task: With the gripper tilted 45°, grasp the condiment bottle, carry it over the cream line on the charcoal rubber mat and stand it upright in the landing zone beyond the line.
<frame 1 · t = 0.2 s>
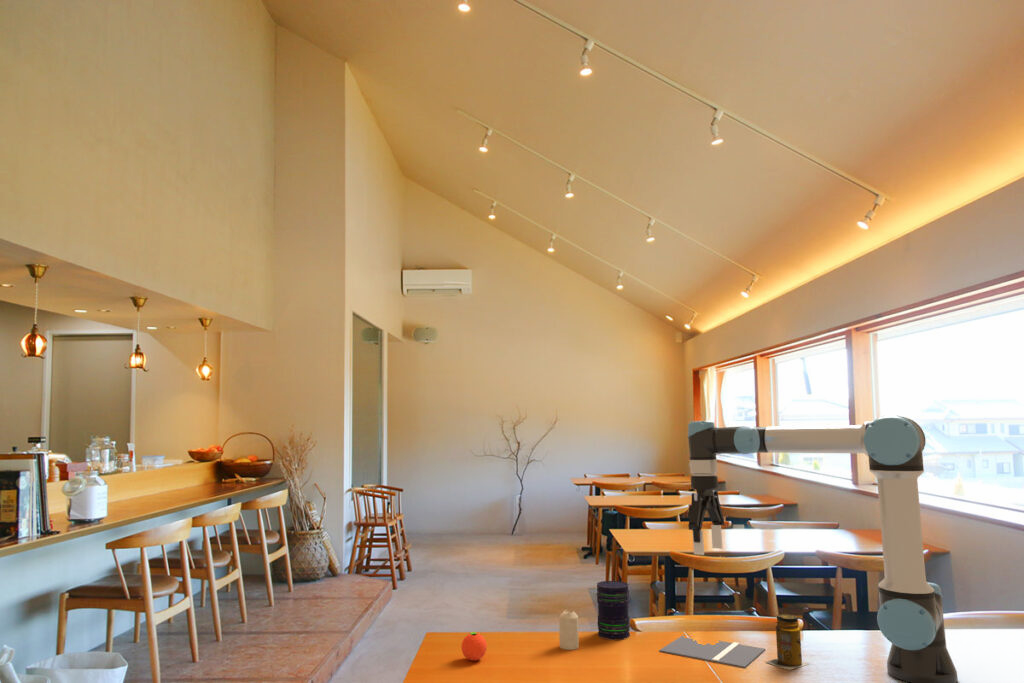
hand: (708, 551, 191), 28 cm above the table, tool pointing down, fingers open, 13 cm apart
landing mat: (712, 650, 190), on the table
condiment: (787, 664, 179), on the table
storage jar: (613, 635, 206), on the table
clementine: (473, 660, 184), on the table
candle: (569, 647, 194), on the table
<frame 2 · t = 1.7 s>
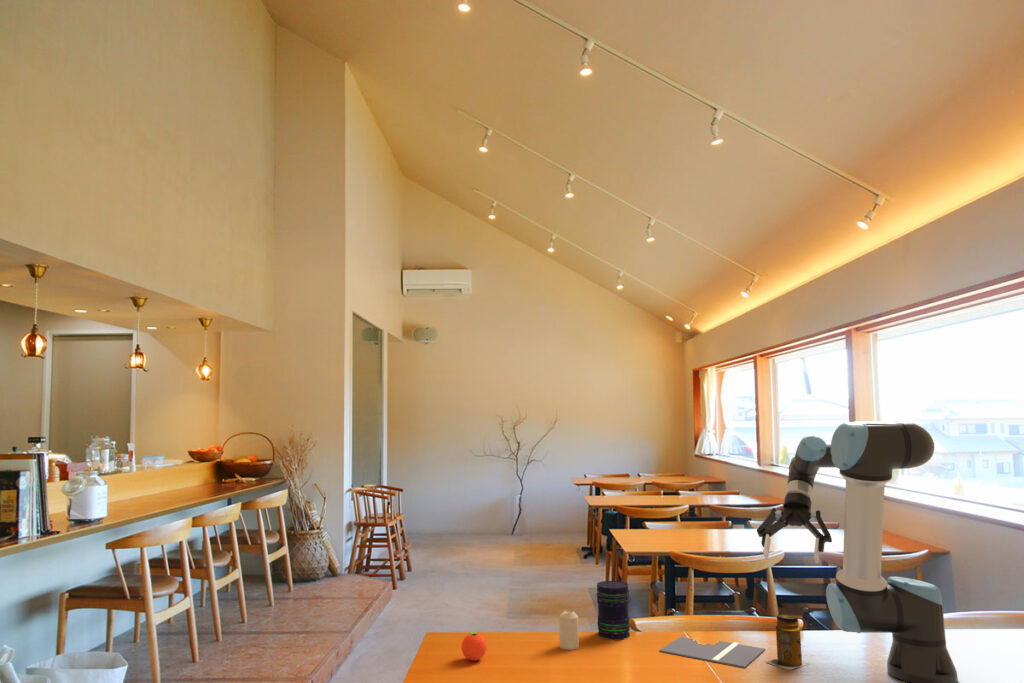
hand: (790, 558, 191), 26 cm above the table, tool tilted 45°, fingers open, 13 cm apart
nothing on the table moved.
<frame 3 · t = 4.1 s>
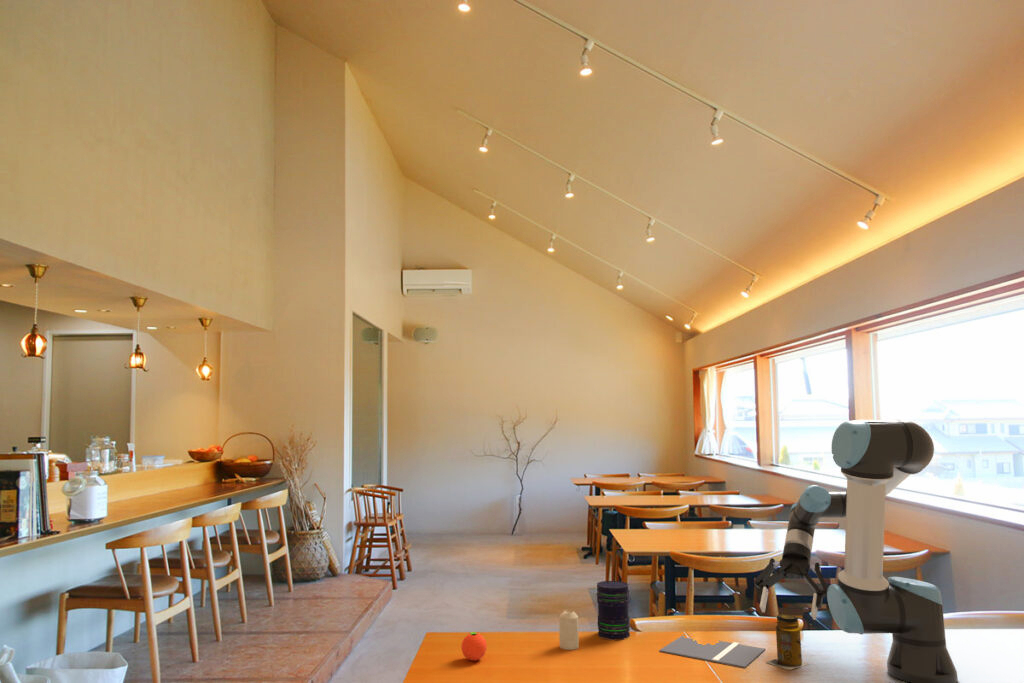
hand: (787, 613, 186), 11 cm above the table, tool tilted 45°, fingers open, 13 cm apart
nothing on the table moved.
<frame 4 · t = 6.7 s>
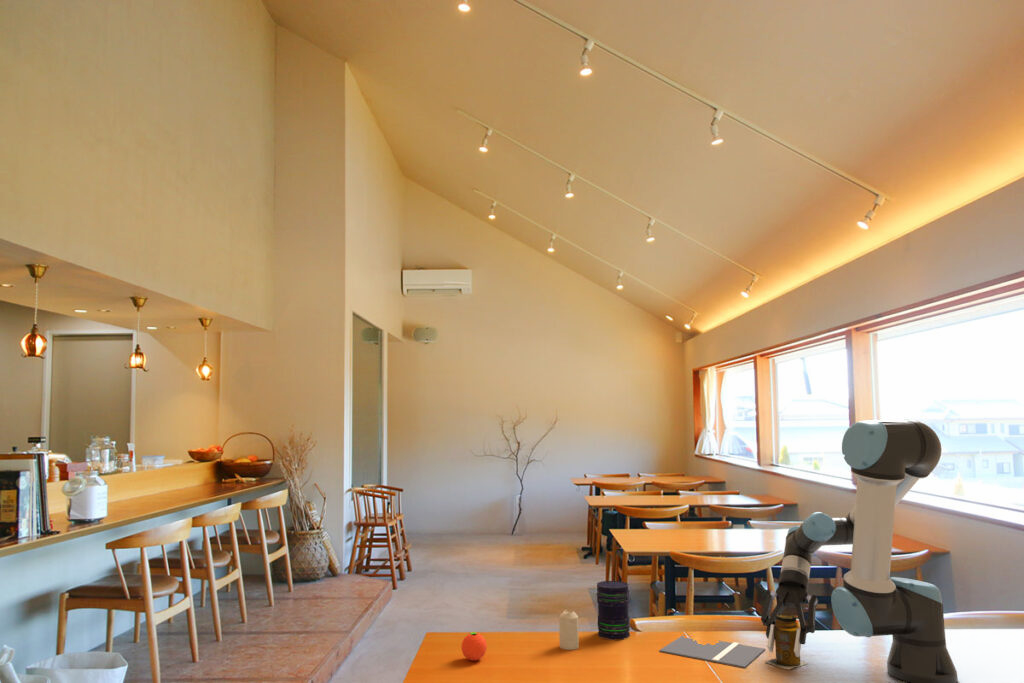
hand: (783, 651, 176), 4 cm above the table, tool tilted 45°, fingers closed on condiment, 6 cm apart
condiment: (786, 664, 179), on the table, touching gripper
everything else where it was.
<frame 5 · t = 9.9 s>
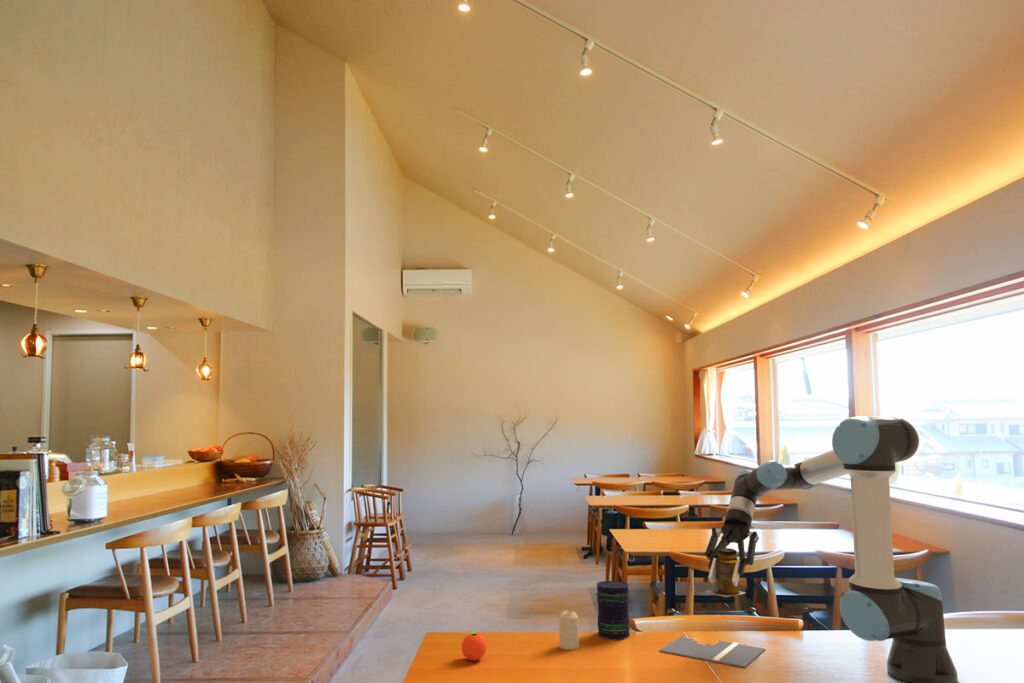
hand: (722, 581, 190), 19 cm above the table, tool tilted 45°, fingers closed on condiment, 6 cm apart
condiment: (726, 593, 192), point 15 cm above the table, touching gripper
everything else where it was.
when the fingers open (6 cm above the table, at t = 13.2 s): condiment drops 1 cm, resting on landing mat.
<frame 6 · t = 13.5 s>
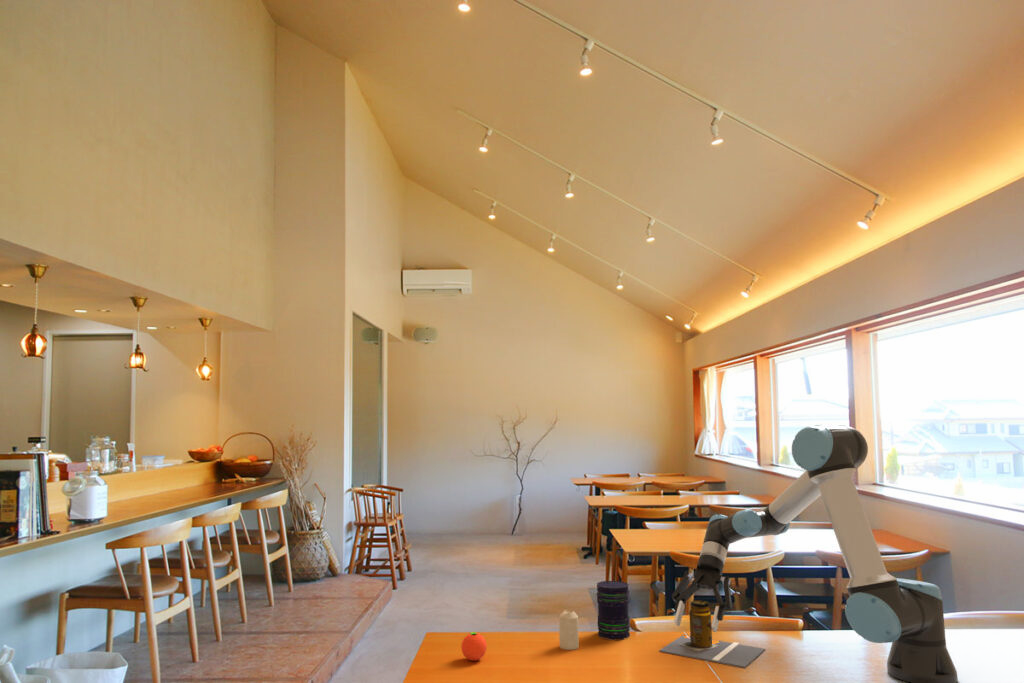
hand: (695, 626, 191), 6 cm above the table, tool tilted 45°, fingers open, 10 cm apart
condiment: (699, 646, 193), resting on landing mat
everything else where it was.
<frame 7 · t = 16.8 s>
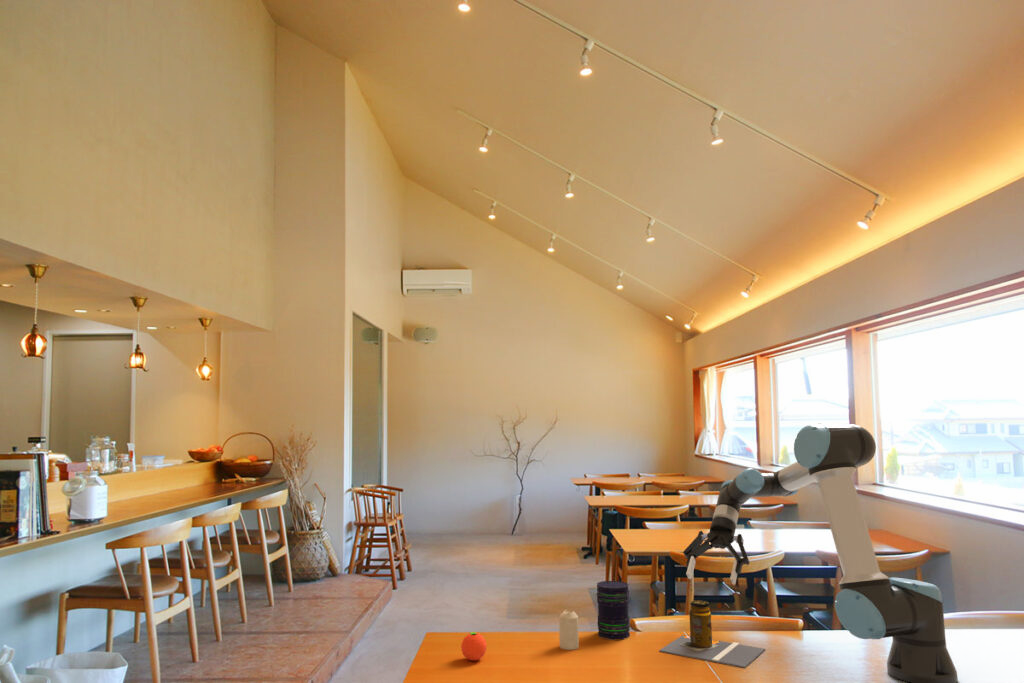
hand: (710, 579, 204), 17 cm above the table, tool tilted 45°, fingers open, 13 cm apart
nothing on the table moved.
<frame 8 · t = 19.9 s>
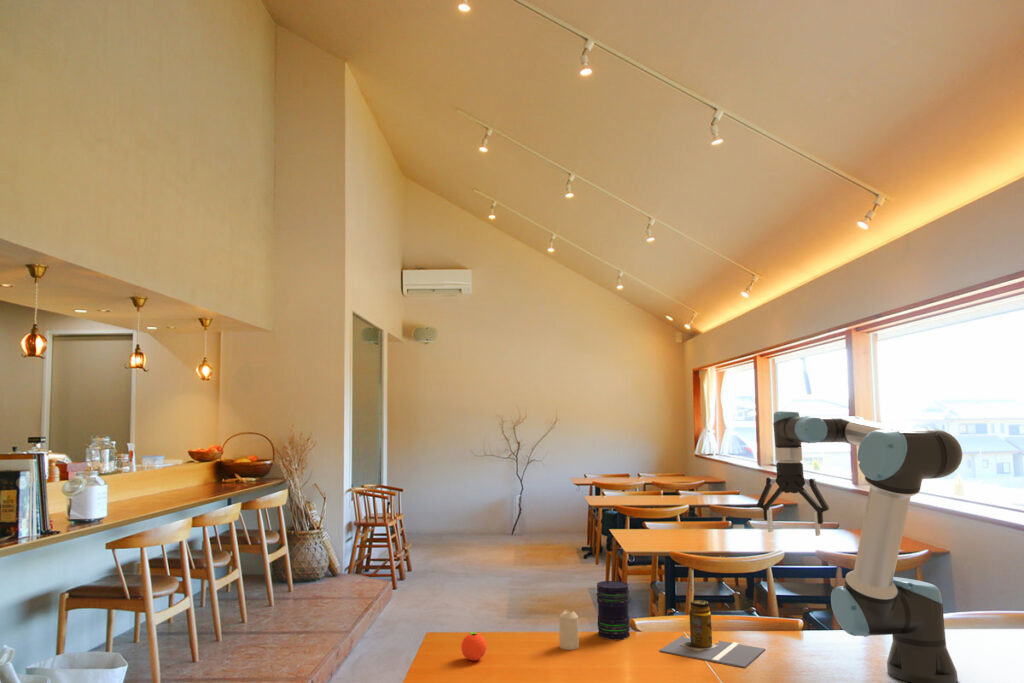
hand: (793, 533, 203), 31 cm above the table, tool pointing down, fingers open, 13 cm apart
nothing on the table moved.
at the end: condiment inside the target area on the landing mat (1.8 cm from its centre), point 0.2 cm above the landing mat's base; condiment tilted 0°; the gripper is holding nothing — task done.
